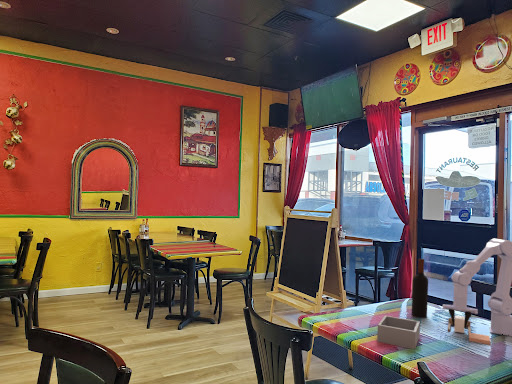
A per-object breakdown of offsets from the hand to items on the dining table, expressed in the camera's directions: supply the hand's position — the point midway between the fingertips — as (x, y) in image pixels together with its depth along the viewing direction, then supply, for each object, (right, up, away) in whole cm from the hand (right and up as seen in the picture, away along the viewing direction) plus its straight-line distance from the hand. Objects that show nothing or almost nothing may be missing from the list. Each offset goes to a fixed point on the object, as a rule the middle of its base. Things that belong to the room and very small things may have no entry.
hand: (459, 326), depth 186 cm
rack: (+2, -2, +4) cm, 5 cm away
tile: (+3, -2, -11) cm, 12 cm away
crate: (-34, 0, -15) cm, 37 cm away
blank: (0, -2, 0) cm, 2 cm away
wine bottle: (-9, -3, +24) cm, 26 cm away
